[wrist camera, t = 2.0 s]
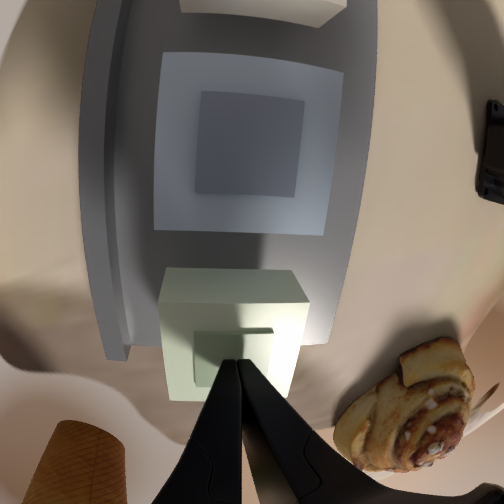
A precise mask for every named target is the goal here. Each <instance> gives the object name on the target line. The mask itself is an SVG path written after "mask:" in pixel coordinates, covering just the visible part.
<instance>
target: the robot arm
mask: <svg viewBox="0 0 504 504" xmlns="http://www.w3.org/2000/svg"><path fill="white" fill-rule="evenodd" d="M478 195H479V197H481V198H483V199H486V200H489V201H493V202H496V203H499V204H503V205H504V105H502V104H501V103H500V102H498V101H497V100H492V99H490V100H489V101H488V104H487V122H486V135H485V144H484V153H483V160H482V167H481V174H480V180H479V185H478ZM242 439H243V443H244V447H245V451H246V454H247V458H248V462H249V466H250V470H251V473H252V477H253V481H254V484H255V488H256V492H257V495H258V498H259V502H260V504H504V488H503V487H501V486H499V485H496V484H490V483H482V484H481V485H479V486H478V487H476V488H475V489H474V490H472V491H471V492H469V493H467V494H465V495H461V496H454V497H450V496H437V495H428V494H420V493H413V492H406V491H401V490H395V489H392V488H389V487H386V486H384V485H382V484H380V483H378V482H377V481H375V480H373V479H372V478H371V477H369V476H368V475H366V474H365V473H364V472H362V471H361V470H360V469H358V468H357V467H355V466H354V465H353V464H351V463H350V462H349V461H347V460H346V459H345V458H344V457H342V456H341V455H340V454H339V453H337V452H336V451H335V450H334V449H332V447H330V446H329V445H328V444H327V443H326V442H325V441H324V440H323V439H322V438H321V437H320V436H319V435H318V434H317V433H316V432H315V431H314V430H312V428H311V427H310V425H309V424H308V423H307V422H306V421H305V420H304V419H303V418H302V417H301V416H300V415H299V414H298V413H297V412H296V410H295V409H294V408H293V407H292V406H291V405H290V404H289V403H288V402H287V401H286V400H285V398H284V397H283V396H282V395H281V394H280V393H279V392H278V391H277V389H276V388H275V387H274V386H273V385H272V384H271V383H270V382H269V380H268V379H267V378H266V377H265V376H264V375H263V373H262V372H261V371H260V370H259V369H258V368H257V366H256V365H255V364H254V363H253V362H252V361H251V360H250V359H237V361H236V360H235V359H224V360H222V363H221V365H220V367H219V370H218V372H217V375H216V377H215V379H214V382H213V384H212V386H211V389H210V391H209V394H208V396H207V398H206V401H205V403H204V405H203V408H202V410H201V412H200V415H199V417H198V420H197V422H196V424H195V427H194V429H193V431H192V434H191V436H190V439H189V440H188V442H187V445H186V447H185V449H184V451H183V454H182V455H181V458H180V460H179V462H178V464H177V465H176V467H175V469H174V470H173V472H172V473H171V475H170V477H169V478H168V480H167V481H166V483H165V484H164V486H163V487H162V489H161V490H160V492H159V493H158V495H157V496H156V498H155V499H154V500H153V502H152V503H151V504H242Z"/></svg>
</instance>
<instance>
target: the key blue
mask: <svg viewBox="0 0 504 504" xmlns="http://www.w3.org/2000/svg"><path fill="white" fill-rule="evenodd" d="M343 75H344V73H342V72H338V71H334V70H330V69H326V68H321V67H317V66H312V65H307V64H302V63H296V62H291V61H285V60H278V59H272V58H264V57H256V56H247V55H236V54H223V53H203V52H163V57H162V65H161V74H160V83H159V93H158V105H157V118H156V133H155V154H154V230H180V231H216V232H246V233H272V234H296V235H318V236H323V234H324V228H325V223H326V216H327V210H328V204H329V198H330V191H331V184H332V177H333V170H334V162H335V155H336V146H337V138H338V129H339V120H340V110H341V99H342V88H343Z"/></svg>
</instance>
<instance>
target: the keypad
mask: <svg viewBox="0 0 504 504" xmlns="http://www.w3.org/2000/svg"><path fill="white" fill-rule="evenodd" d="M163 52H203V53H223V54H236V55H247V56H256V57H264V58H272V59H278V60H285V61H291V62H296V63H302V64H307V65H312V66H317V67H321V68H326V69H330V70H334V71H338V72H342V73H344V75H343V88H342V99H341V110H340V120H339V129H338V138H337V146H336V155H335V162H334V170H333V177H332V184H331V191H330V198H329V204H328V210H327V216H326V223H325V228H324V234H323V236H318V235H296V234H272V233H246V232H216V231H180V230H154V154H155V133H156V118H157V105H158V93H159V83H160V74H161V65H162V57H163ZM376 64H377V0H347V7H346V8H344V9H343V10H342V11H340V12H339V13H338V14H336V15H335V16H334V17H332V18H331V19H330V20H328V21H327V22H326V23H325V24H323V25H322V26H321V27H320V28H315V27H311V26H306V25H302V24H297V23H292V22H286V21H280V20H274V19H268V18H261V17H253V16H243V15H233V14H218V13H182V12H181V7H180V3H179V0H98V1H97V4H96V8H95V13H94V17H93V21H92V26H91V31H90V36H89V42H88V47H87V53H86V60H85V67H84V74H83V83H82V93H81V105H80V120H79V193H80V209H81V221H82V232H83V241H84V249H85V257H86V264H87V270H88V276H89V282H90V288H91V293H92V299H93V304H94V309H95V313H96V318H97V322H98V327H99V331H100V335H101V339H102V343H103V347H104V350H105V354H106V358H107V360H116V361H127V359H128V355H129V351H130V347H131V345H138V346H156V347H162V340H161V331H160V321H159V310H158V299H159V295H160V291H161V287H162V283H163V279H164V275H165V271H166V267H173V268H213V269H267V270H292V272H293V273H294V275H295V277H296V279H297V280H298V282H299V284H300V286H301V287H302V289H303V291H304V293H305V294H306V296H307V298H308V300H309V301H310V306H309V311H308V315H307V320H306V324H305V328H304V333H303V337H302V341H301V345H312V344H325V343H327V342H328V339H329V335H330V332H331V329H332V325H333V321H334V318H335V314H336V311H337V307H338V303H339V299H340V295H341V291H342V287H343V283H344V279H345V275H346V271H347V267H348V262H349V258H350V253H351V249H352V244H353V239H354V235H355V230H356V225H357V219H358V214H359V209H360V203H361V197H362V192H363V186H364V179H365V173H366V166H367V159H368V152H369V144H370V136H371V127H372V117H373V107H374V95H375V81H376Z"/></svg>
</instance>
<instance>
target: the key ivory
mask: <svg viewBox="0 0 504 504" xmlns="http://www.w3.org/2000/svg"><path fill="white" fill-rule="evenodd" d="M179 3H180V7H181V12H182V13H218V14H233V15H243V16H253V17H261V18H268V19H274V20H280V21H286V22H292V23H297V24H302V25H306V26H311V27H315V28H320V27H321V26H322V25H323V24H325V23H326V22H327V21H328V20H330V19H331V18H332V17H334V16H335V15H336V14H338V13H339V12H340V11H342V10H343V9H344V8H346V7H347V0H179Z"/></svg>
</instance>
